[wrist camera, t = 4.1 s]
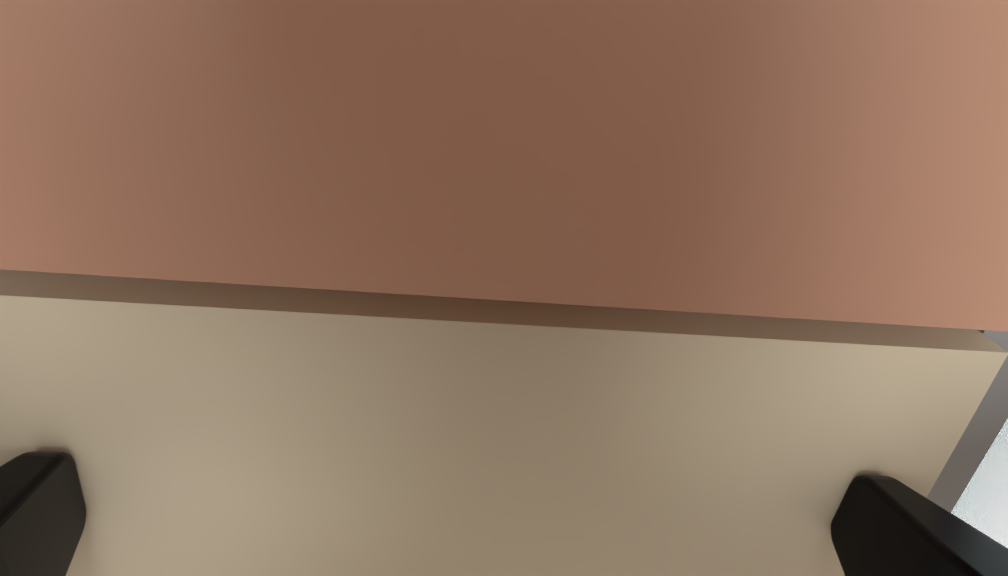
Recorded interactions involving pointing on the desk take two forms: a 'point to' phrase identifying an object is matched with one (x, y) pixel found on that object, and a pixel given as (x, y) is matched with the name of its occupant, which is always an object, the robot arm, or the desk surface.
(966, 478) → the pastel key tray
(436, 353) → the sand key
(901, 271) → the terracotta key
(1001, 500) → the desk surface
